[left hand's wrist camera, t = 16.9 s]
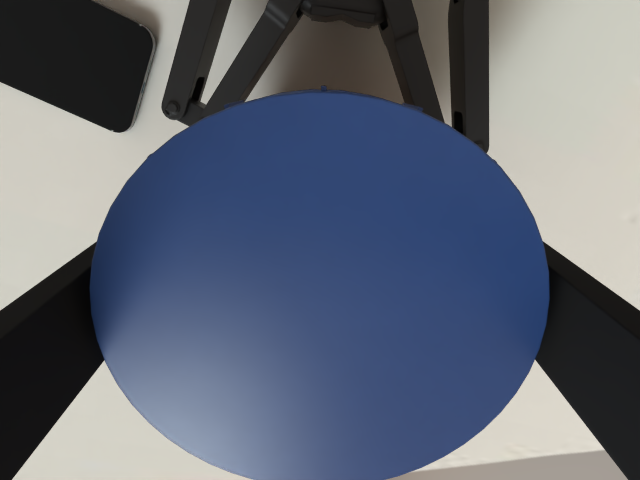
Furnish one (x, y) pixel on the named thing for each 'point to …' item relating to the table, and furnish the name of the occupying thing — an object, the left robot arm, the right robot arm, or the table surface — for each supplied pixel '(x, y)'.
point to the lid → (319, 288)
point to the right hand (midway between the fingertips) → (311, 254)
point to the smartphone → (76, 58)
